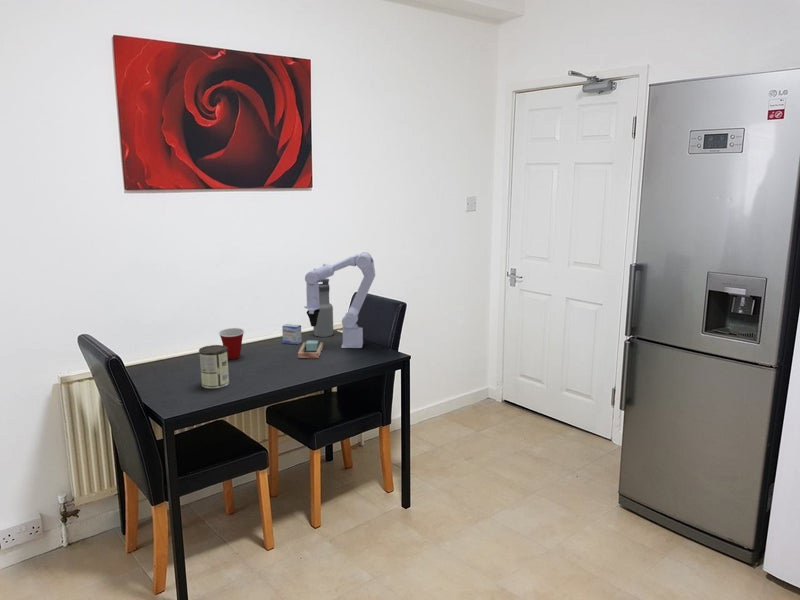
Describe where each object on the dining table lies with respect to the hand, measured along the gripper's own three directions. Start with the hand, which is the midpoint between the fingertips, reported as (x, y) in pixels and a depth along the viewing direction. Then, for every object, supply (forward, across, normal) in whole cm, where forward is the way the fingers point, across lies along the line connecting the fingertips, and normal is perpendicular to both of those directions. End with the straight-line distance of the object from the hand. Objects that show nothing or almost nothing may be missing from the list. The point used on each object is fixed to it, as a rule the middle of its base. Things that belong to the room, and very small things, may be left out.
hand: (313, 325), depth 290 cm
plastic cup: (+10, +20, -33) cm, 40 cm away
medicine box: (+10, -4, -11) cm, 15 cm away
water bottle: (+10, -20, +2) cm, 22 cm away
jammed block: (+9, +8, 0) cm, 12 cm away
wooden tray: (+9, +12, 0) cm, 15 cm away
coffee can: (+10, +54, -31) cm, 63 cm away
